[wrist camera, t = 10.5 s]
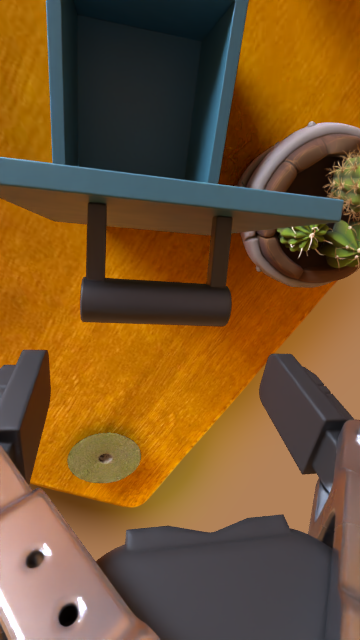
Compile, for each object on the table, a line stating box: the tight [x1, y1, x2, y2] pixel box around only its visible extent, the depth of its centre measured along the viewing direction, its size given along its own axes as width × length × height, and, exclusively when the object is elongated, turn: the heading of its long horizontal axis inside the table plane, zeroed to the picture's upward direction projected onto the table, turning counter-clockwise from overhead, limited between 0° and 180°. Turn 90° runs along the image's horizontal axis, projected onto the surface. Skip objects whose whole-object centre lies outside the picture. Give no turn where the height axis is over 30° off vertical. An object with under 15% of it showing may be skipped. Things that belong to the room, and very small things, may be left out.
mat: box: [67, 433, 141, 483], centre depth 53 cm, size 11×11×2 cm
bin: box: [46, 0, 249, 184], centre depth 29 cm, size 16×13×11 cm
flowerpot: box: [236, 121, 360, 287], centre depth 31 cm, size 14×15×20 cm
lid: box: [0, 157, 344, 326], centre depth 19 cm, size 17×13×5 cm
